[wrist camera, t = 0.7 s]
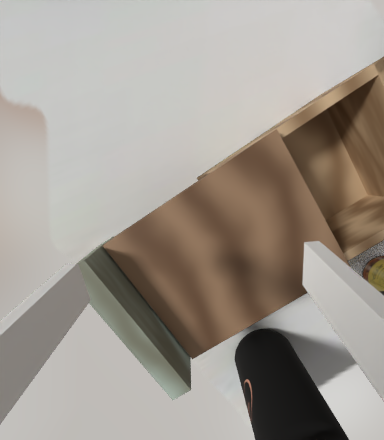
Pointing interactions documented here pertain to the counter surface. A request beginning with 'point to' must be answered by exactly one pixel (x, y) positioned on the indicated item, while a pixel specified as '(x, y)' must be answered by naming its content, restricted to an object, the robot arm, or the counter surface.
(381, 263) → the sauce bottle
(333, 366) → the counter surface
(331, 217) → the chest
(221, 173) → the lid
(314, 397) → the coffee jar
